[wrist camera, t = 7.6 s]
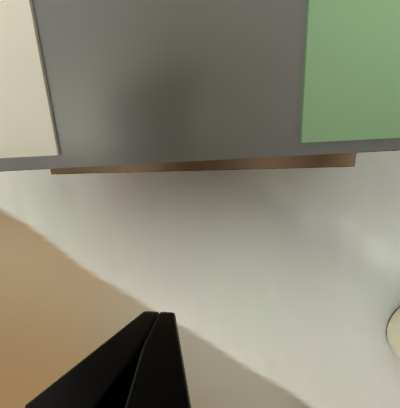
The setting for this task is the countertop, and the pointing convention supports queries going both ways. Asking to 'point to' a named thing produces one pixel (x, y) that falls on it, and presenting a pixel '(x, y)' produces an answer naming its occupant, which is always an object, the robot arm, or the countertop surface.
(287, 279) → the countertop surface
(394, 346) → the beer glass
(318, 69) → the grey flat panel
